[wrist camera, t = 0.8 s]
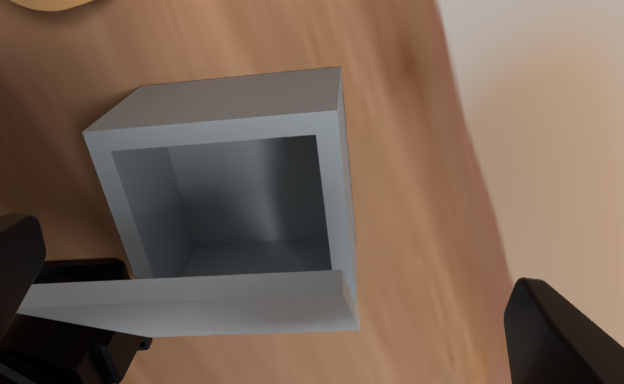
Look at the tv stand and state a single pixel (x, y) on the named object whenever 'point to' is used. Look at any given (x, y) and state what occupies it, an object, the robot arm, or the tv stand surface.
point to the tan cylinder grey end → (50, 4)
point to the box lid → (202, 304)
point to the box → (230, 176)
